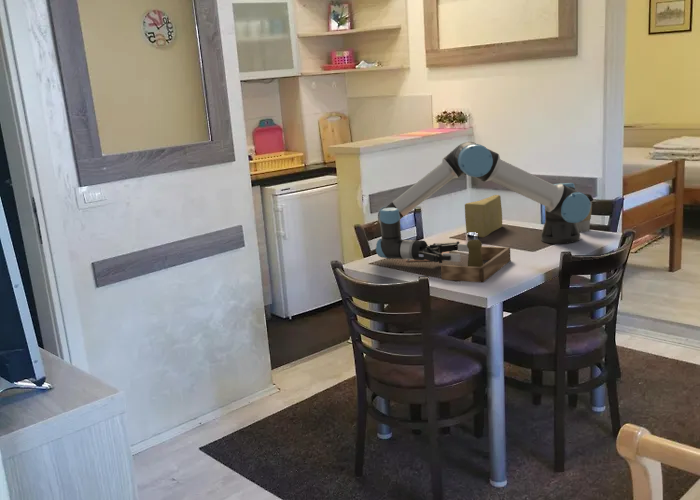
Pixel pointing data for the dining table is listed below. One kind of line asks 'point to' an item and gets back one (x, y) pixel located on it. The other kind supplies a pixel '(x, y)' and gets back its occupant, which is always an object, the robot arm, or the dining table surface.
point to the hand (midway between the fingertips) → (467, 253)
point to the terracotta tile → (423, 260)
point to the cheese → (484, 215)
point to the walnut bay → (479, 274)
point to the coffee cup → (585, 224)
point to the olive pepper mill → (474, 253)
